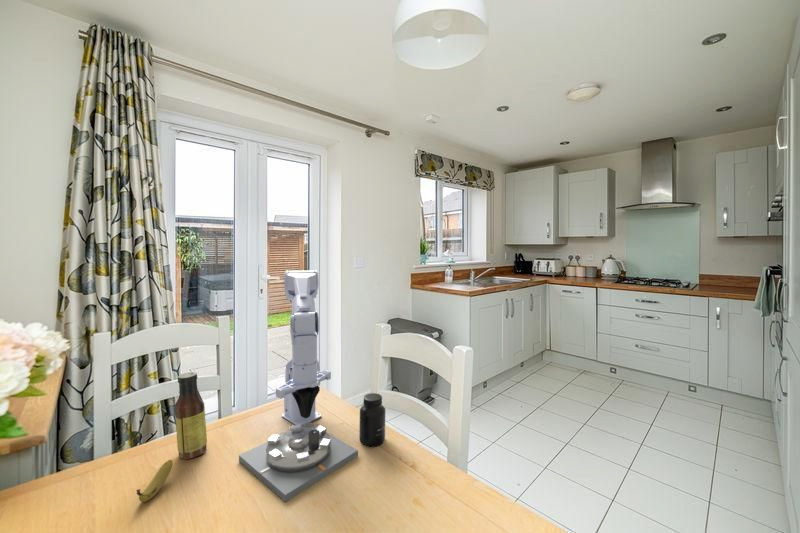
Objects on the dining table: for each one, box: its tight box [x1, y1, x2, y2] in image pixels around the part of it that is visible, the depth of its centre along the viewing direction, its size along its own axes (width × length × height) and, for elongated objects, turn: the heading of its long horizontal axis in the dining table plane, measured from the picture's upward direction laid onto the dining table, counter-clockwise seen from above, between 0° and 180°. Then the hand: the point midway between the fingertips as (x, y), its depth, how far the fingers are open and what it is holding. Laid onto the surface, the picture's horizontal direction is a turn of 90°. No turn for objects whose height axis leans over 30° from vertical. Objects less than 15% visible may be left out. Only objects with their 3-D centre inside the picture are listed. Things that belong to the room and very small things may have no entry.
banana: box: [135, 459, 174, 503], centre depth 72 cm, size 10×2×4 cm, turn 0°
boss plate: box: [238, 422, 359, 503], centre depth 84 cm, size 20×20×2 cm
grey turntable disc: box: [266, 424, 331, 472], centre depth 84 cm, size 15×15×7 cm
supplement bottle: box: [358, 392, 386, 448], centre depth 91 cm, size 7×7×12 cm
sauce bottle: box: [174, 371, 208, 460], centre depth 85 cm, size 7×6×20 cm
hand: (305, 416), depth 84 cm, fingers closed
